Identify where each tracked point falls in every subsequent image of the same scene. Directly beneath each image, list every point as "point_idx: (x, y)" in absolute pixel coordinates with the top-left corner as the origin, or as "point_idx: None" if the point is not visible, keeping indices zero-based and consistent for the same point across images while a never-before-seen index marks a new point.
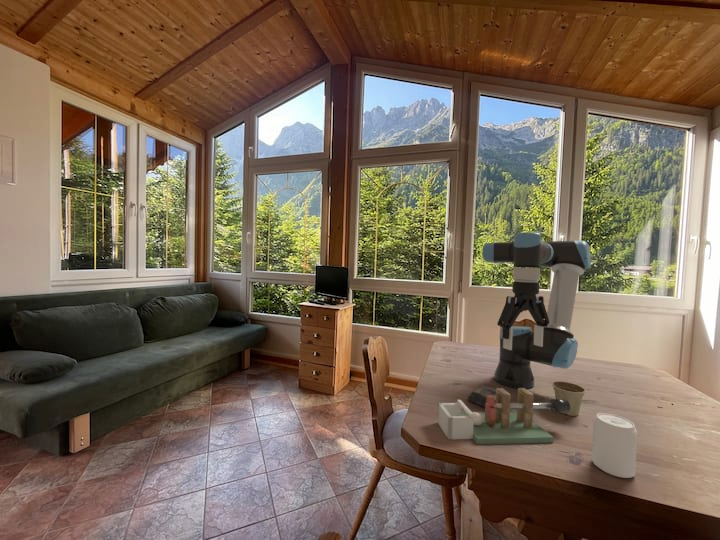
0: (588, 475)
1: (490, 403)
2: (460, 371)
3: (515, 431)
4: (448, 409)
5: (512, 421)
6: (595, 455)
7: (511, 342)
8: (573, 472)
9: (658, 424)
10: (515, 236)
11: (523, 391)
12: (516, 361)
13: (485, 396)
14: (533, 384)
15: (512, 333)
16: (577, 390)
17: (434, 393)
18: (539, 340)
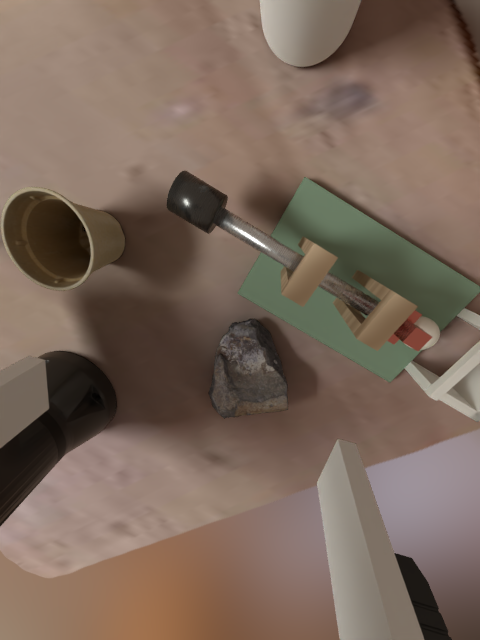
0: (400, 37)
1: (417, 326)
2: (145, 485)
3: (360, 251)
4: (453, 393)
5: None
6: (349, 24)
7: (364, 497)
8: (417, 70)
9: None
10: None
11: (321, 278)
12: (40, 424)
13: (281, 378)
14: (49, 354)
15: (386, 614)
16: (22, 227)
17: (310, 462)
18: (4, 399)
